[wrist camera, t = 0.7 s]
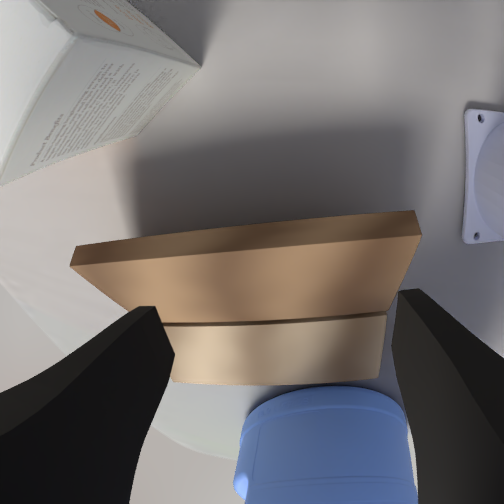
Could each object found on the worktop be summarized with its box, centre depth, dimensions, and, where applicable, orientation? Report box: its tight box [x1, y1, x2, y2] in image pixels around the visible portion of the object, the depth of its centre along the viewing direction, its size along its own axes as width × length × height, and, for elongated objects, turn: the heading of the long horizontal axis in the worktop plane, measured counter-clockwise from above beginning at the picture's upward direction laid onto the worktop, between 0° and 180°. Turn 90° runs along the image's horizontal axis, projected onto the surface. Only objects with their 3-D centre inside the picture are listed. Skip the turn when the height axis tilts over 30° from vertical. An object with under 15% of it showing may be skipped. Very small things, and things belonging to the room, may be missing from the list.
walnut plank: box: [70, 210, 422, 323], centre depth 16 cm, size 16×8×1 cm
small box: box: [0, 0, 201, 187], centre depth 9 cm, size 8×6×10 cm
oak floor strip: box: [162, 311, 387, 385], centre depth 21 cm, size 16×6×1 cm, turn 99°
